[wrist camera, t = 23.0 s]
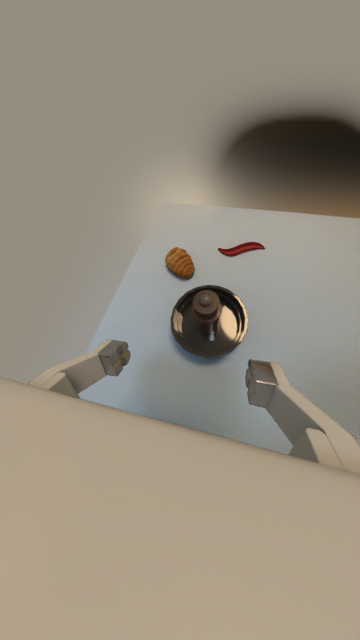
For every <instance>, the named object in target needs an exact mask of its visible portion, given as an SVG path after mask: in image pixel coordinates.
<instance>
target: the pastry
mask: <svg viewBox="0 0 360 640" xmlns="http://www.w3.org/2000/svg"><path fill="white" fill-rule="evenodd" d="M165 262H166V264H167V267H168V268H169V269H170V270H171V271H172V272H173V273H175V274H176V275H178V276H179V277H181V278H184V279H188V278H189V277H191V276H192V275H193V273H194V270H195V268H194V266H193V262H192V260H191V257H190V256H189V255H188V254H187V253H186V251H185V250H183V249H181V248H178V247H175V248H173V249H172V250H170V251H169V253H168V254H167V256H166V259H165Z"/></svg>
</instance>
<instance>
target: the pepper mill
mask: <svg viewBox="0 0 360 640" xmlns="http://www.w3.org/2000/svg"><path fill="white" fill-rule="evenodd" d="M221 312H222V306H221V303H220V300H219V297H218V295H217V294H216V293H215V292H213V291H211V290H203V291H200V292H198V293H197V294H196V295H195V297H194V299H193V306H192V313H193V316H194V318H195V321H196V324H197V327H198V329H199V330H200V331H201V332H202V333H204V334H213V333H215V332H216V331H217V330H218V328H219V323H220V317H221Z"/></svg>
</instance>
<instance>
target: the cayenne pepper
mask: <svg viewBox="0 0 360 640" xmlns="http://www.w3.org/2000/svg"><path fill="white" fill-rule="evenodd" d="M255 249H265V248H264V246H263V245H261V244H260V243H257V242H248V243H244V244H241V245H238V246H236V247H233V248H230V249H221V248H218V250H219V251H220V252H221V253H222V254H224V255H227V256H236V255H238V254H241V253H243V252H246V251H250V250H255Z"/></svg>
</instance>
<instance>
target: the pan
mask: <svg viewBox="0 0 360 640" xmlns="http://www.w3.org/2000/svg"><path fill="white" fill-rule="evenodd" d="M203 290H211V291H213V292H215V293H216V294H217V295H218V297H219V300H220V303H221V306H222V312H221V317H220V323H219V328H218V330H217V331H216V332H215V333H213V334H204V333H202V332H201V331H200V330H199V329H198V327H197V324H196V321H195V318H194V316H193V313H192V306H193V299H194V297H195V295H196V294H197V293H198V292H200V291H203ZM247 326H248V316H247V312H246V308H245V306H244V304H243V303H242V301H241V300H240V298H239V297H238V296H236V295H235V294H234V293H233V292H231V291H230V290H228V289H225V288H223V287H220V286H212V285H206V286H200V287H196V288H194V289H192V290H190V291H188V292H186V293H185V294H184V295H183V296H182V297H181V298H180V299H179V300H178V302H177V303H176V305H175V307H174V308H173V312H172V316H171V327H172V331H173V334H174V336H175V339H176V340H177V342H178V343H179V344H180V345H181V346H182V347H183V348H184V349H185V350H187V351H188V352H190V353H192V354H193V355H195V356H198V357H202V358H208V359H209V358H219V357H221V356H223V355H226V354H228V353H230V352H231V351H232V350H233V349H234V348H236V347H237V346H238V345H239V344H240V343H241V342H242V340H243V338H244V336H245V334H246V332H247Z"/></svg>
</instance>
